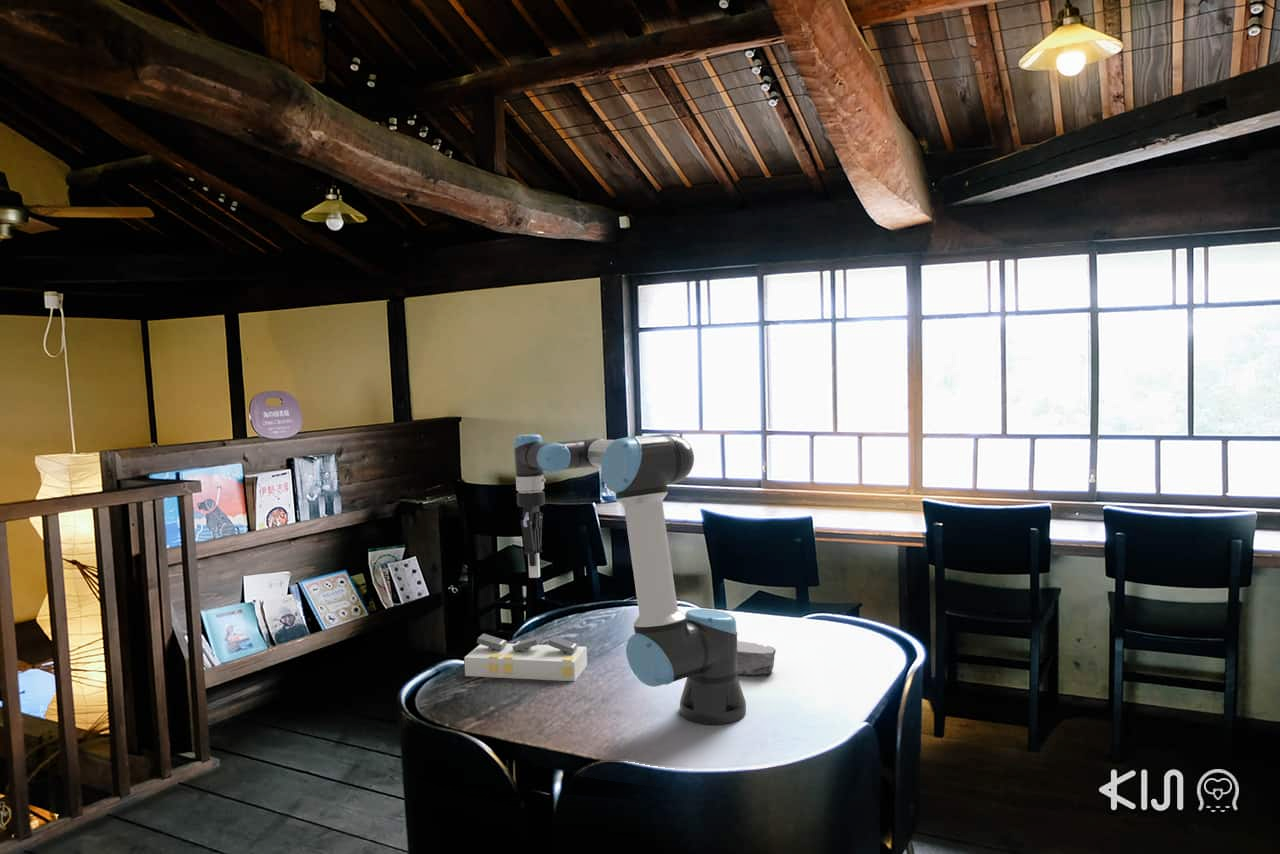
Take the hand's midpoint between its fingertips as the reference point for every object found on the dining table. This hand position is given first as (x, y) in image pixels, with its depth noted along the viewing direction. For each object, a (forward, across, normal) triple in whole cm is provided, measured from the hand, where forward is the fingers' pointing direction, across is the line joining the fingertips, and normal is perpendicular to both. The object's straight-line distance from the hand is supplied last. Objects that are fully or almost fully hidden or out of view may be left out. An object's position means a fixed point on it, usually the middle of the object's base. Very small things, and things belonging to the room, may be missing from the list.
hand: (534, 576), depth 222 cm
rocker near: (+17, -6, -9) cm, 20 cm away
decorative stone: (+25, -1, -57) cm, 62 cm away
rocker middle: (+17, -6, +1) cm, 18 cm away
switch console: (+24, -6, +1) cm, 25 cm away
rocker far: (+17, -5, +11) cm, 21 cm away
